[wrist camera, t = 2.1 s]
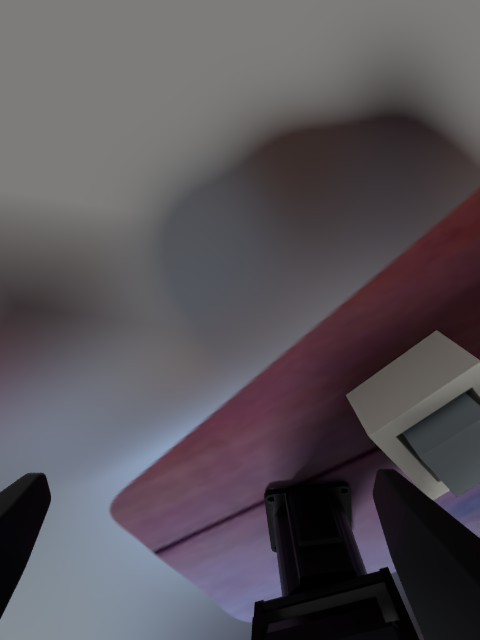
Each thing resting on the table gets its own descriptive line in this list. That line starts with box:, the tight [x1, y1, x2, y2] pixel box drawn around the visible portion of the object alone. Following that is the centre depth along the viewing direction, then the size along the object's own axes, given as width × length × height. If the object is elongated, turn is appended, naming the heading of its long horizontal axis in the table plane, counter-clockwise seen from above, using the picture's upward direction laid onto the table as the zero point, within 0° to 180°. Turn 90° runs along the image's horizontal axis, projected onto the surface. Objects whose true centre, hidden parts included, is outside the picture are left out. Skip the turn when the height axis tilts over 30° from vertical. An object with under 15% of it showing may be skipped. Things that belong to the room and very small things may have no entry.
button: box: [402, 392, 480, 497], centre depth 19 cm, size 4×4×3 cm
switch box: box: [346, 330, 480, 500], centre depth 21 cm, size 7×7×4 cm
